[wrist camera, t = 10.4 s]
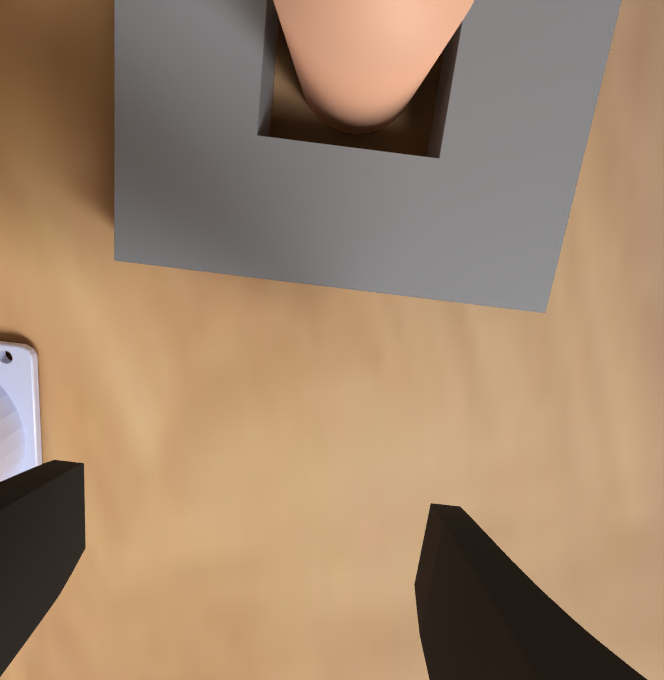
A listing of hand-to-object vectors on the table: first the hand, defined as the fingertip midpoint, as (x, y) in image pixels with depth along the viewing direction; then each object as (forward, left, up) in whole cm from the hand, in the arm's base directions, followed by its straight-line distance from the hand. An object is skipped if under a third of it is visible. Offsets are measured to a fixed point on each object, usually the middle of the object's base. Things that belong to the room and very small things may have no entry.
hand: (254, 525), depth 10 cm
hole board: (+1, +11, -9) cm, 15 cm away
